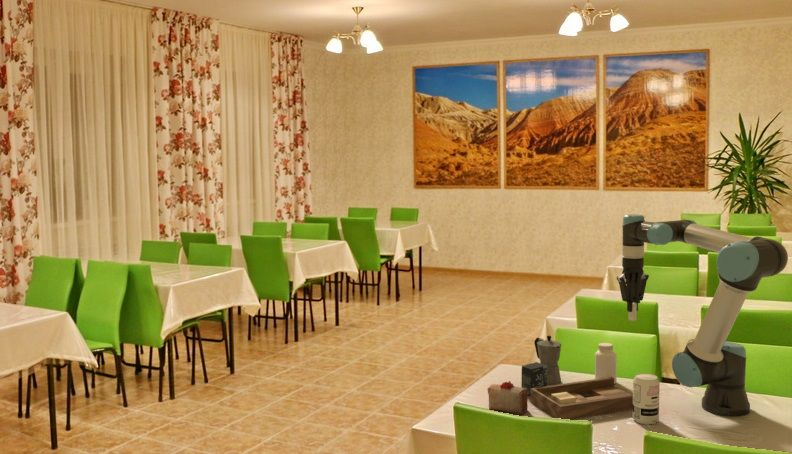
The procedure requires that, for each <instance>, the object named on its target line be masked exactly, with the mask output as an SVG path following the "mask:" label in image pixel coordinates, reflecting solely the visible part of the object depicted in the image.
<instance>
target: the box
mask: <svg viewBox="0 0 792 454" xmlns="http://www.w3.org/2000/svg"><path fill="white" fill-rule="evenodd" d="M544 386H548V385H547V365H544V364H541V363H540V362H537V361H536V362H532V363H527V364H522V365H521V387H520V388H526V389H527V390H528V392H527V397H528V396H529V397H531V388H537V387H544Z"/></svg>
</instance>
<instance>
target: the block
mask: <svg viewBox="0 0 792 454" xmlns="http://www.w3.org/2000/svg"><path fill="white" fill-rule="evenodd" d="M551 399H552V400H554V401H555V402H557V403H559V404H560V405H563V404H570V403H576V397H574V396H573V395H571V394H569V393H567V392H562V393H555V394H551Z"/></svg>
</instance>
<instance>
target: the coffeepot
mask: <svg viewBox="0 0 792 454" xmlns="http://www.w3.org/2000/svg"><path fill="white" fill-rule="evenodd" d="M546 338H547V339H543V338H540V337H536V338H535V340H534V347H535V352H536V356H537V359H539V363H541V364H544V365H547V386H551V385H558V384H561V382H562V378H561V377H562V376H561V372H560V365H559V364H558V363H559V361H560V357H561V351H562V343H561V342H560V341H558V340H557V341H556V340H552V336H551V335H546Z"/></svg>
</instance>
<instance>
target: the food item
mask: <svg viewBox="0 0 792 454" xmlns="http://www.w3.org/2000/svg"><path fill="white" fill-rule="evenodd" d="M527 392H528V390H527V389H526V388H521V387H520V386H515V385H514V384H513V383H511V380H509V381H508V382H507V381H505V382H502V383H501V384H497V383H494V384H493V383H492V384H490V385H489V386H488V388H487V394H488V409H489V410H490V409H492V410H491V411H497V410H498V411H501V412H504V413H505V412H506V413H512V414H518V415H522V416H523V415H525V414H526V413H527V412H528V395H527Z"/></svg>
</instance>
